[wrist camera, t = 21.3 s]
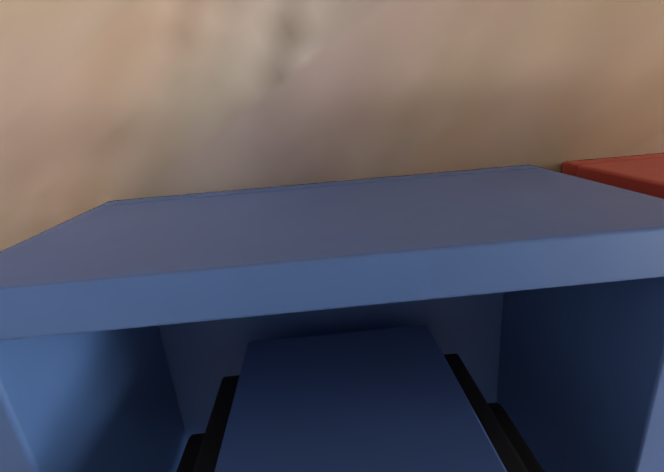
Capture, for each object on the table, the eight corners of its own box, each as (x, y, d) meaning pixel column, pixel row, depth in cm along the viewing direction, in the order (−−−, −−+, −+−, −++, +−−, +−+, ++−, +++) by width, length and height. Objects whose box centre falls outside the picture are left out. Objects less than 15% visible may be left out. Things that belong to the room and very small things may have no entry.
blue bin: (108, 200, 10) (-105, 298, 5) (530, 164, 11) (749, 219, 5) (191, 509, 14) (120, 753, 9) (502, 475, 14) (616, 688, 9)
